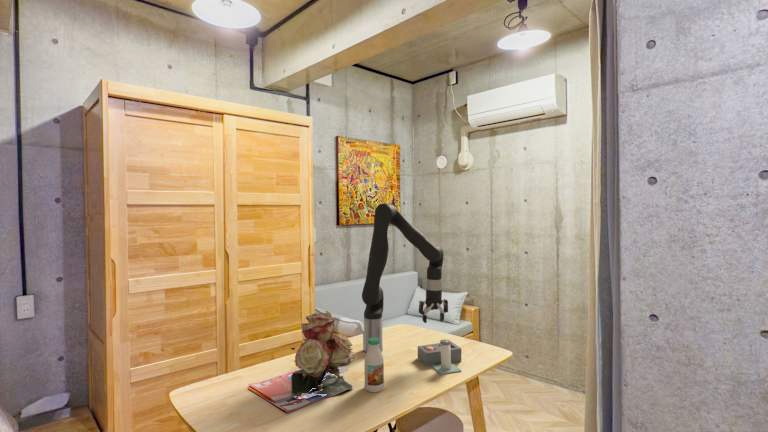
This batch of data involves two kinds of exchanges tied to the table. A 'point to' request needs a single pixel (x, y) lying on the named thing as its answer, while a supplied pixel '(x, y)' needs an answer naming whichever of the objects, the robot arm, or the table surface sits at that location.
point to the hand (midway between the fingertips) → (433, 321)
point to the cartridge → (445, 354)
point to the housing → (437, 354)
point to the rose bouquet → (321, 357)
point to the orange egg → (429, 348)
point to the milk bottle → (374, 367)
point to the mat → (442, 371)
